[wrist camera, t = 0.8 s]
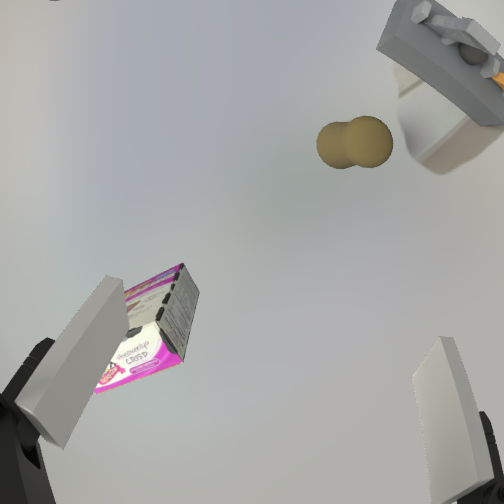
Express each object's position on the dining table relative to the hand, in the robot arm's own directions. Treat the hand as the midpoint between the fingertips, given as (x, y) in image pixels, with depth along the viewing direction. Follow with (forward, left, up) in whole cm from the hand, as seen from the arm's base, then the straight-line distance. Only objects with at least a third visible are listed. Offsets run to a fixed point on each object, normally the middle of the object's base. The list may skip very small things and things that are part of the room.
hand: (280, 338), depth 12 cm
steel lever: (-26, +22, -22) cm, 40 cm away
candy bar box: (+10, -13, -29) cm, 33 cm away
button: (-23, +28, -23) cm, 43 cm away
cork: (-9, +11, -29) cm, 32 cm away
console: (-23, +28, -29) cm, 46 cm away
